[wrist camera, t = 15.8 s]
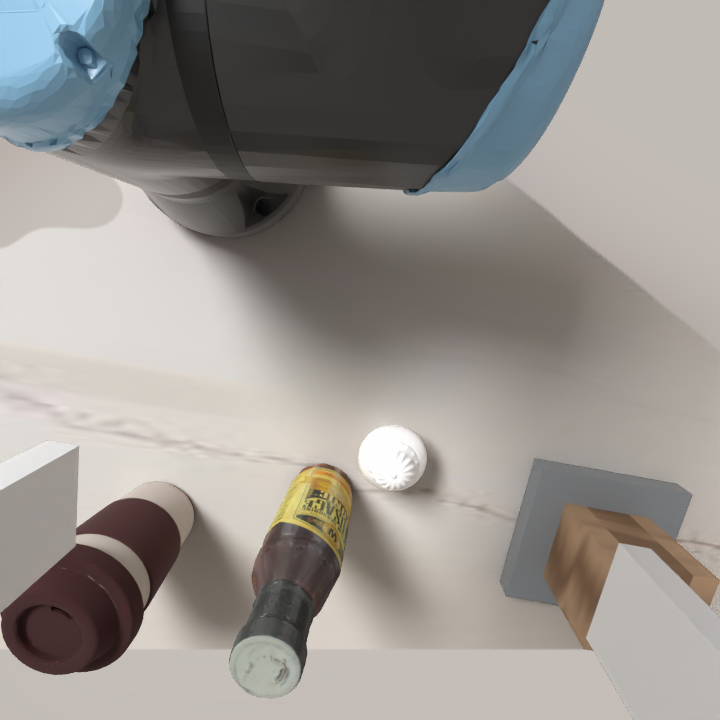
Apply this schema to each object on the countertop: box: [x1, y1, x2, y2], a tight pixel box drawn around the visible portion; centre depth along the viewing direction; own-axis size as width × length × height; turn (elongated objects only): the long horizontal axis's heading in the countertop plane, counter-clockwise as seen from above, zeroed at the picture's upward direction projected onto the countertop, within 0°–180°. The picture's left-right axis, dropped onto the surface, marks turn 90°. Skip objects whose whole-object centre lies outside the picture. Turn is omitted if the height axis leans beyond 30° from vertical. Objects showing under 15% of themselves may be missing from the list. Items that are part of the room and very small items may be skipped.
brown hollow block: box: [543, 503, 720, 651], centre depth 35 cm, size 8×8×8 cm
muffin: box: [358, 425, 427, 491], centre depth 36 cm, size 6×6×7 cm
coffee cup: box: [0, 482, 194, 675], centre depth 35 cm, size 10×10×15 cm
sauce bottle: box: [229, 464, 352, 698], centre depth 31 cm, size 6×6×20 cm
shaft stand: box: [500, 459, 692, 606], centre depth 37 cm, size 14×14×8 cm
